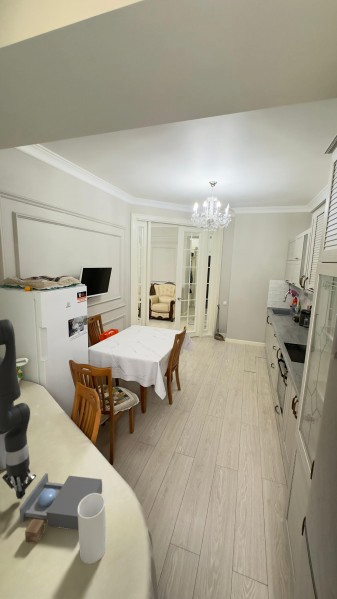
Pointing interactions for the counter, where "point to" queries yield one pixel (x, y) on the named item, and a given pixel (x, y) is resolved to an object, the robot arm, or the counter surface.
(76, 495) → the housing
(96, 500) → the cup
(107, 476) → the counter surface
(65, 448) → the counter surface
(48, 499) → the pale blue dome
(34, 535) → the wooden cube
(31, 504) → the tray
